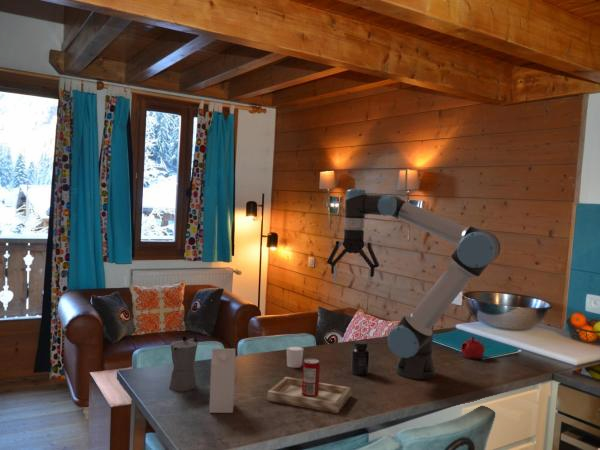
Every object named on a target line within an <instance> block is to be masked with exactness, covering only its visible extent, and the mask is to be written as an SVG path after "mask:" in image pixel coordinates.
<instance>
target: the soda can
mask: <svg viewBox="0 0 600 450" xmlns="http://www.w3.org/2000/svg"><path fill="white" fill-rule="evenodd" d="M320 366H321V365H320V361H319V360H318V359H316V358H304V360H303V362H302V375H301V376H302V378H301V379H302V395H303V396H304V397H310V398H315V397H317V395H318V391H319V382H320V370H321V369H320Z"/></svg>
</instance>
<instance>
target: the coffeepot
mask: <svg viewBox="0 0 600 450" xmlns="http://www.w3.org/2000/svg"><path fill="white" fill-rule="evenodd" d="M181 337H182V340H178V341H177V340H176V341H172V342H171V344H170V351H171V359H172V364H173V368H172V373H171V379H170V382H169V383H170V384H169V389H170V390H172V391H174V392H188V391H189V390H190V391H192V389H193V390H195V389H196V386H197V381H196V374H195V372H196V371H195V368H194V363H195V361H196V354H197V348H198V343H199V341H198V339H197V338H196V337H194V336H193V337H192V338H189V339H188V335H186V334H184V335H182V336H181ZM187 339H188V340H187Z"/></svg>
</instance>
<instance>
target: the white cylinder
mask: <svg viewBox="0 0 600 450" xmlns="http://www.w3.org/2000/svg"><path fill="white" fill-rule="evenodd" d="M285 348H286V366H287V367H289V368H293V369H295V368H296V369H297V368H301V367H302V365H303V355H304V347H302V346H298V345H290V346H287V347H285Z"/></svg>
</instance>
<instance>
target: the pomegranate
mask: <svg viewBox="0 0 600 450" xmlns="http://www.w3.org/2000/svg"><path fill="white" fill-rule="evenodd" d="M460 350H461V353H462V355H463V357H464V358H467V359H470V360H479V359H480V358H482V357H483V356H484V354H485V346H484V344H483V343H482V342H481V339H475V336H471V338H470V337H469V338H467V339H465V340H464V342H463V343H462V344H461V345H460Z"/></svg>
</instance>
